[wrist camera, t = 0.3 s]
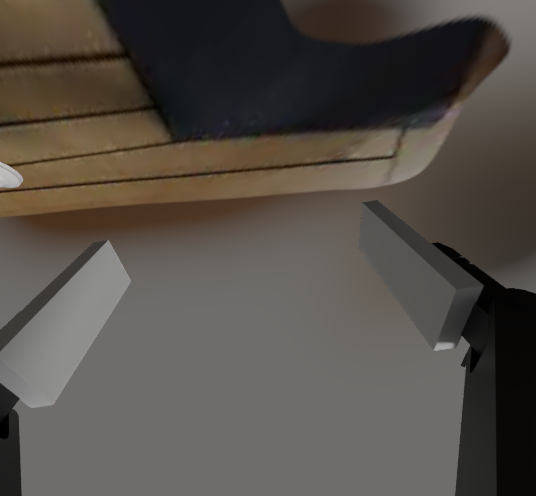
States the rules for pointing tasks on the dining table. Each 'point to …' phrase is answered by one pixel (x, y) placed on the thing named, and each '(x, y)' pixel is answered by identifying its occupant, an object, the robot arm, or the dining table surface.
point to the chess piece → (9, 177)
